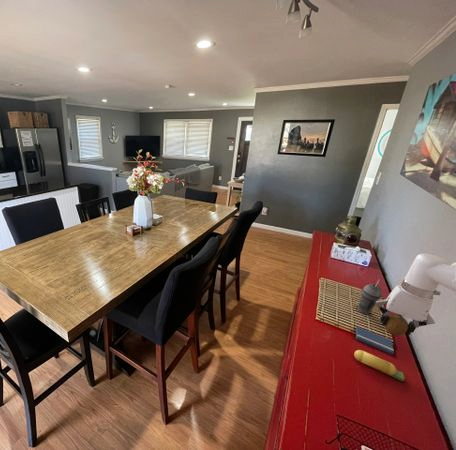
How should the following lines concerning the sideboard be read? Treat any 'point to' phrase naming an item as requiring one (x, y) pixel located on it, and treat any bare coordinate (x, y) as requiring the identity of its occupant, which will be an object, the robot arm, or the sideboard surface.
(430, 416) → the sideboard surface
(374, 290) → the beverage cup
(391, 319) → the fruit
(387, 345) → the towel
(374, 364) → the corn cob
